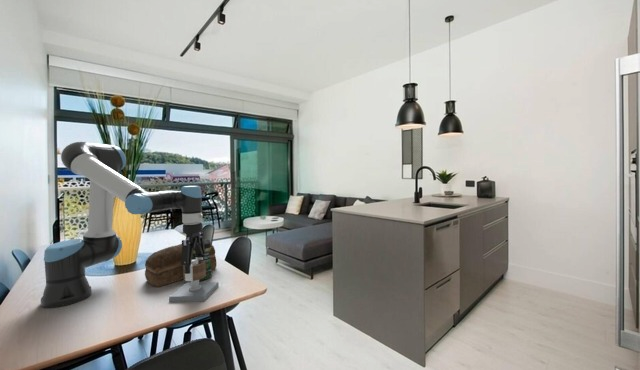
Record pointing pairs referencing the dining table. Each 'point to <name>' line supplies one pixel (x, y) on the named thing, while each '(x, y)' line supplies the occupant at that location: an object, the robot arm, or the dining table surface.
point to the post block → (194, 290)
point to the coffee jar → (207, 259)
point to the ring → (197, 270)
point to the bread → (169, 265)
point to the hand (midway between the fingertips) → (194, 276)
